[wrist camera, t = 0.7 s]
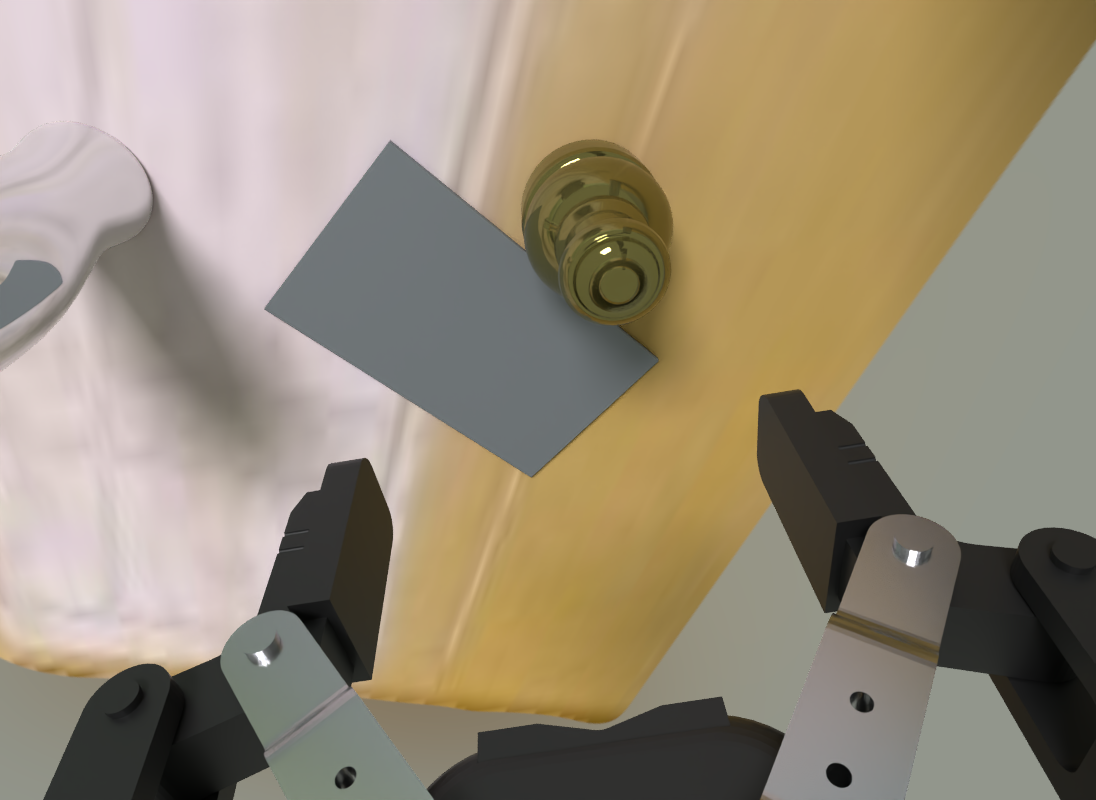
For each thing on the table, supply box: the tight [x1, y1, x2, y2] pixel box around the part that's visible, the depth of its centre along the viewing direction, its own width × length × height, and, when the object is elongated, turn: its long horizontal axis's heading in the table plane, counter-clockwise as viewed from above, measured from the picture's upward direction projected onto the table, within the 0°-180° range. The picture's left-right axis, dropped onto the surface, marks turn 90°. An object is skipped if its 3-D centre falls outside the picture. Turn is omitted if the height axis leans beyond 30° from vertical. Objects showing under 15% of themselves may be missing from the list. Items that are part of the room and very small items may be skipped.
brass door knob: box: [521, 140, 673, 326], centre depth 34 cm, size 7×8×10 cm
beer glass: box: [0, 121, 153, 372], centre depth 29 cm, size 7×7×15 cm
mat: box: [265, 140, 659, 477], centre depth 41 cm, size 12×20×1 cm, turn 48°
